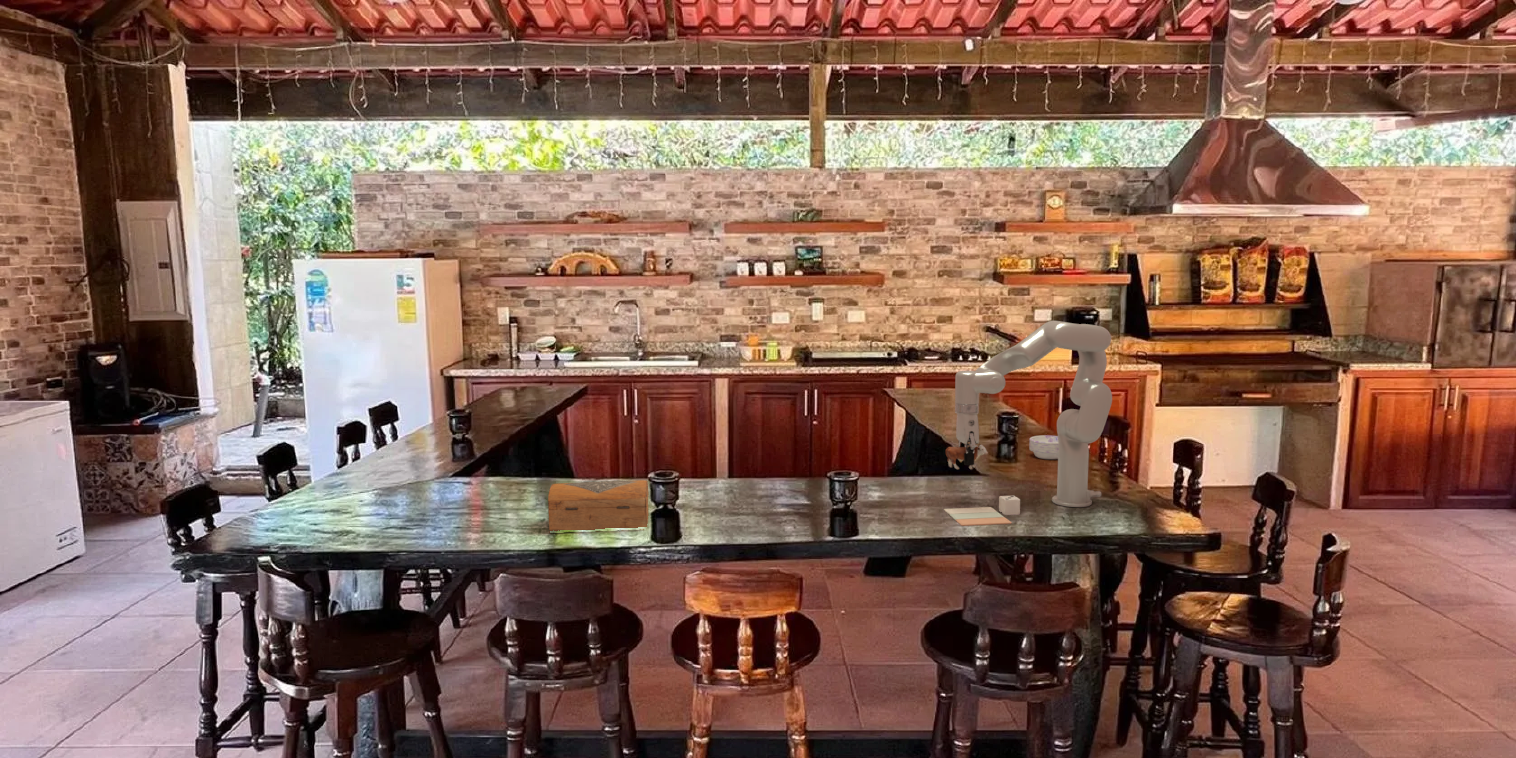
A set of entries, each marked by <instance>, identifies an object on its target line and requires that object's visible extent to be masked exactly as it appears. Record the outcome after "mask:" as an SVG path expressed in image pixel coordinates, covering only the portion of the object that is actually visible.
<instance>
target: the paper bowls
mask: <svg viewBox="0 0 1516 758" xmlns="http://www.w3.org/2000/svg"><path fill="white" fill-rule="evenodd" d="M1028 446H1029V451H1031V452H1033V454H1034V456H1035V457H1036V458H1039V459H1040V460H1041V459H1042V460H1058V450H1059V444H1058V435H1051V434H1050V435H1048V434H1047V435H1046V434H1044V435H1034V436H1031V437H1030V438H1029V445H1028Z"/></svg>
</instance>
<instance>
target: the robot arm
mask: <svg viewBox="0 0 1516 758" xmlns="http://www.w3.org/2000/svg"><path fill="white" fill-rule="evenodd" d="M1111 342H1112V335H1111V333H1110V332H1109V330H1108V329H1107V328H1105V327H1103V326H1101V325H1094V324H1088V323H1087V324H1086V323H1081V324H1079V323H1072V322H1067V321H1062V320H1061V321H1059V320H1050V321H1046V322H1045V323H1043V324H1042V325H1041V326H1039V327H1038V328H1037V329H1035V330H1034V331H1032V332H1031V333H1030V334H1028V336H1026V337H1025V338H1024V339H1022V340H1020V341H1019V342H1018V343H1017V344H1016V345H1013V346H1011V347H1009V348H1006V349H1005V350H1003V351H1001V352H999V353H998V354H996V355H994V356H993V357H991V358H989V359H988V360H986V361H985V362H984V363H983V364H981V365H980V366H979V367H978V368H977V369H975V370H959V371H957V372H956V374H955V382H954V383H955V387H954V388H955V389H954V390H955V391H954V393H955V394H954V395H955V396H954V398H955V399H954V400H955V401H954V405H955V406H954V413H955V414H956V421H955V422H956V423H955V425H956V426H955V437H956V440H957V441H958V447H965V453H964V460H963V461H962V462H963V465H964V466H970V465H974V464H975V461H974V449H975V446H976V445H979V443H980V430H979V429H980V428H979V427H980V426H979V415H978V414H979V411H980V410H979V409H980V407H979V406H980V394H988V395H989V394H991V395H995V394H998V393H1001V392H1002V391H1004V390H1003V389H1005V386H1006V379H1005V377H1004V376H1005V375H1008V374H1009V373H1011V372H1014V371H1017V370H1022V369H1025V368H1026V369H1027V368H1029V367H1032V366H1034V365H1036V363H1038V362H1039V361H1040V360H1042V359H1043V358H1044V357H1046V356H1047V355H1049V354H1050V353H1052V351H1054V350H1055V349H1057V348H1058V349H1064V350H1070V351H1077V353H1078V356H1079V357H1078V359H1079V360H1078V361H1079V362H1078V367H1077V370H1076V373H1075V377H1074V379H1073V383H1072V385H1071V389H1070V391H1069V392H1070V393H1069V398H1070V400H1071V401H1072V402H1073V404H1075V405H1077V406H1079V407H1080V408H1079V409H1076V408H1075V409H1074V408H1070V409H1066V410H1064V411H1062V412H1061V413H1060V414H1059V416H1058V418H1057V420H1056V432H1057V436H1058V444H1059V450H1058V459H1057V482H1056V483H1057V484H1056V485H1057V487H1056V495H1053V496H1052V497H1051V501H1052V503H1053V504H1055V505H1058V506H1062V507H1068V508H1085V507H1090V506H1091V505H1092V504H1093V501H1092V498H1101V497H1102V492H1101V490H1098V491H1096V490H1095V491H1094V490H1090V489H1088V482H1089V481H1088V479H1089V455H1090V452H1089V451H1090V449H1089V444H1092V443H1094V442H1096V441H1098V439H1099V438H1100V437H1101V435H1102V433H1103V431H1104V428H1105V426H1106V423H1107V419H1108V417H1109V413H1110V410H1111V407H1112V403H1113V394H1112V391H1111V388H1110V387H1109V386H1108V385H1107V384H1105V383H1104V382H1103V381H1104V377H1105V373H1106V369H1107V363H1108V362H1107V361H1108V359H1107V358H1108V357H1107V355H1106V354H1107V353H1106V351H1105V350H1107V349H1108V348H1109V347H1110V345H1111Z"/></svg>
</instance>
